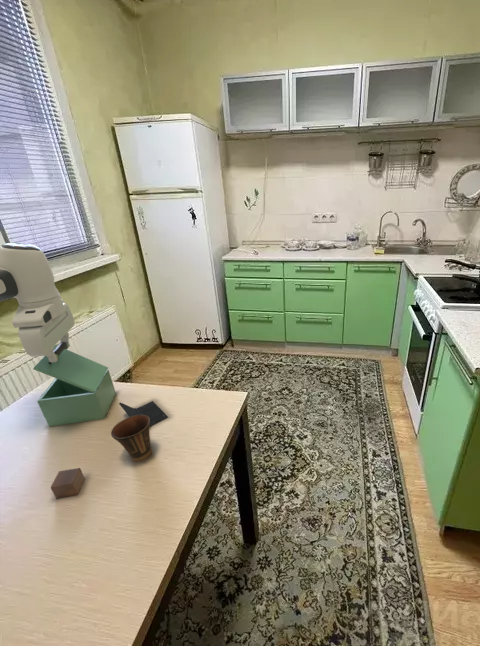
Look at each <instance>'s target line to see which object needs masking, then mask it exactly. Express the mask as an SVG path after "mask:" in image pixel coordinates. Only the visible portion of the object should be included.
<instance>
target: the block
mask: <svg viewBox="0 0 480 646" xmlns="http://www.w3.org/2000/svg"><path fill="white" fill-rule="evenodd" d="M85 479H86V477H85V475H84V474H83V471H82V469H81V467H76V468H70V469H64V470H59V471H58V472H57V475H56V476H55V478H54V480H53V481H52V483H51V485H50V489H51V491H52V494H53V495H54V497H55V499H62V498H67V497H72V496H78V495H79V493H80V491H81V488H82V487H83V484H84V481H85Z"/></svg>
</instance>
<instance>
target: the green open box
mask: <svg viewBox="0 0 480 646" xmlns="http://www.w3.org/2000/svg"><path fill="white" fill-rule="evenodd" d="M112 379H113V378H112V377H111V373H110V371H109V369H107V371H106V373H105V375H104V377H103V378H102V380H101V382H100V384H99V386H98V387H97V389H96V391H95V393H92V392H90V391H87V390H85V389H82V388H79V387H77V386H74V385H72V384H69V383H67V382H64V381H62V380H59V379H57V378H54V379H53V381H52V382H51V383H50V385H49V386H48V387H47V388H46V389H45V390H44V392H43V393H42V394H41V396H40V397H39V398H38V400H36V401H37V404H38V406H39V408H40V410H41V413H42V415H43V416H44V419H45V421H46V423H47V425H48V427H56V426H63V425H69V424H76V423H83V422H91V421H96V420H103V419H105V417H106V416H107V414H108V412H109V409H110V407H111V405H112V403H113V401H114V398H115V397H116V395H117V394H116V393H117V392H116V389H115V386H114V383H113V380H112Z"/></svg>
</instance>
